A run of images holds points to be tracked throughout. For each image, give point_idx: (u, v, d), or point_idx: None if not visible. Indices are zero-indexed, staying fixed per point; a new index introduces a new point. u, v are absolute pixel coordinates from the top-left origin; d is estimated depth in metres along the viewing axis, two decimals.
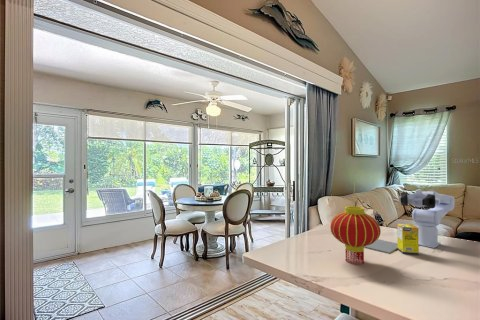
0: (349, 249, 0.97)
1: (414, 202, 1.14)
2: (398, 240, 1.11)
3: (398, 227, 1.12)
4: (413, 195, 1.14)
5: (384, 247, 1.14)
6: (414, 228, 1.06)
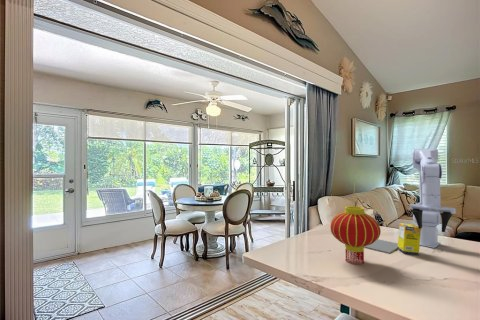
0: (349, 249, 0.97)
1: None
2: (399, 239, 1.11)
3: (400, 226, 1.12)
4: (424, 208, 1.03)
5: (384, 247, 1.14)
6: (416, 228, 1.06)
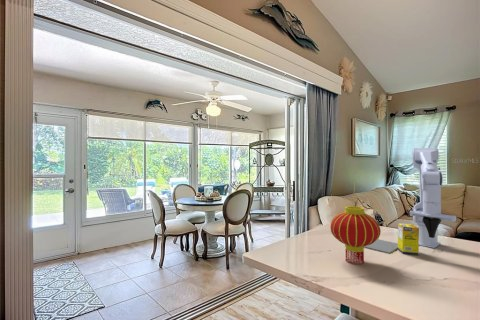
0: (349, 249, 0.97)
1: None
2: (398, 239, 1.11)
3: (398, 226, 1.12)
4: None
5: (384, 247, 1.14)
6: (415, 228, 1.06)
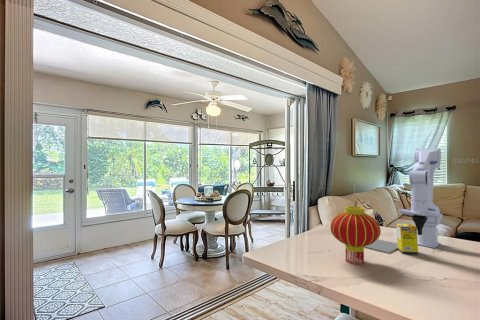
0: (349, 249, 0.97)
1: None
2: (397, 240, 1.12)
3: (397, 227, 1.12)
4: None
5: (384, 247, 1.14)
6: (412, 227, 1.07)
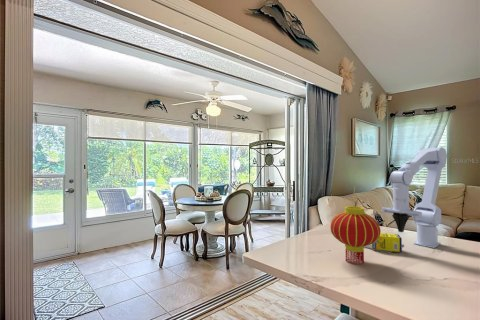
0: (349, 249, 0.97)
1: None
2: None
3: None
4: (394, 211, 1.12)
5: None
6: None
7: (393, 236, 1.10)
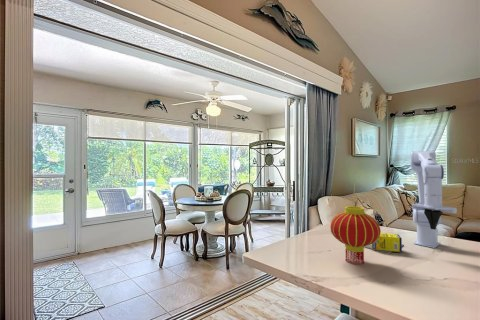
0: (349, 249, 0.97)
1: None
2: None
3: None
4: (426, 207, 1.06)
5: None
6: None
7: (393, 236, 1.10)
